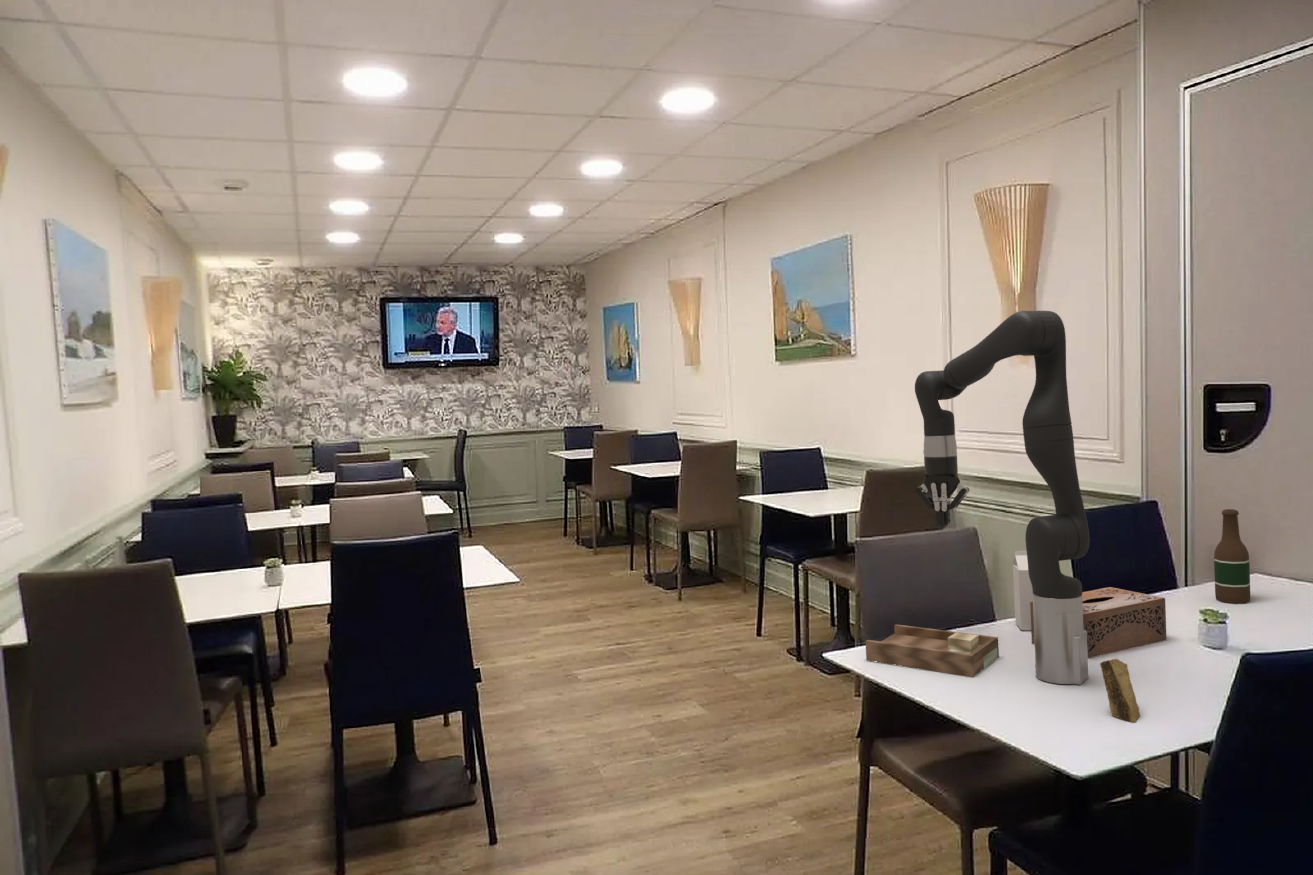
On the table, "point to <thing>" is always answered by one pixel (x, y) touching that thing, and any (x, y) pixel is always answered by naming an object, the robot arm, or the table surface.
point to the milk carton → (1022, 591)
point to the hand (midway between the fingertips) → (943, 526)
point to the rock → (1120, 690)
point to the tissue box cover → (1119, 620)
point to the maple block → (963, 642)
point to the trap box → (932, 651)
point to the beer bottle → (1231, 563)
